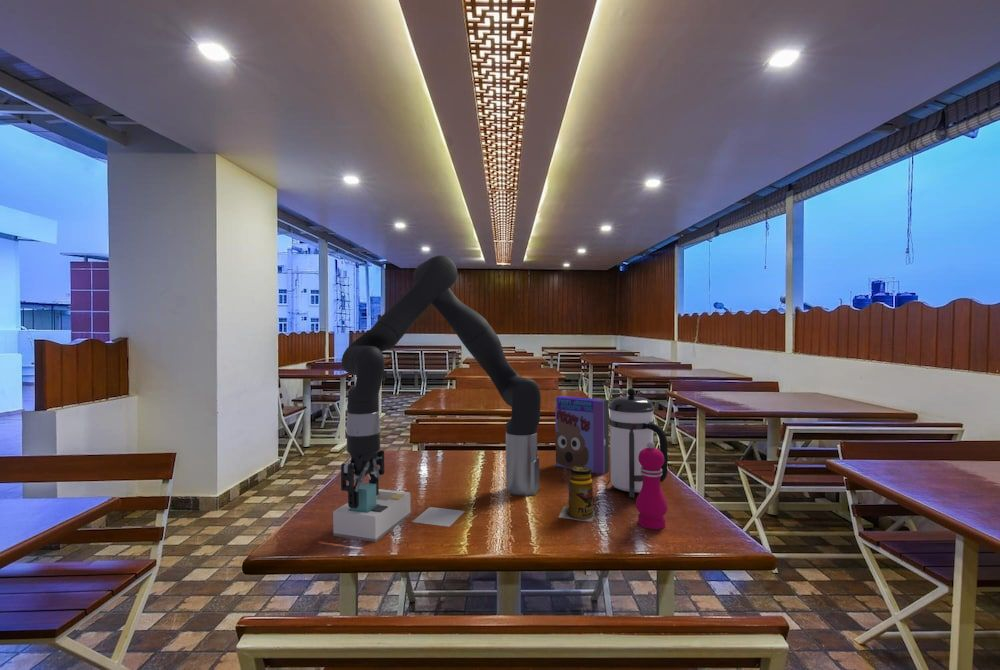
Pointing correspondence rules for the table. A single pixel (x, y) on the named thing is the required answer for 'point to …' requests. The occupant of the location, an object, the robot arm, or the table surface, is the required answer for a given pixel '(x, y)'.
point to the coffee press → (632, 441)
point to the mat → (439, 516)
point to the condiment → (579, 495)
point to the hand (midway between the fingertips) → (364, 501)
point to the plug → (366, 497)
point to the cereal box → (582, 433)
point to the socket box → (372, 517)
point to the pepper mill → (651, 489)
